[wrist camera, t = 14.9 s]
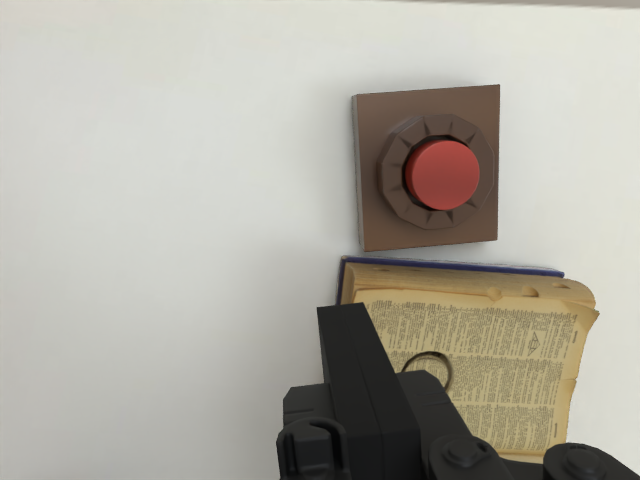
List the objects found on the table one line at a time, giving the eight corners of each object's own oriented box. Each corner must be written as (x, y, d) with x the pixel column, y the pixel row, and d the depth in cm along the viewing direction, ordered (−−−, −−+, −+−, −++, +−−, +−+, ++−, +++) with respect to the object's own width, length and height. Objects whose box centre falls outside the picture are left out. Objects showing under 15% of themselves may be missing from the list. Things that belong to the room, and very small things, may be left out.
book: (339, 251, 34) (350, 277, 29) (562, 268, 36) (615, 297, 30) (305, 545, 40) (309, 616, 34) (499, 548, 42) (534, 617, 36)
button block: (351, 96, 32) (361, 92, 28) (486, 86, 32) (513, 82, 29) (359, 243, 34) (369, 259, 30) (484, 233, 35) (509, 247, 31)
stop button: (403, 142, 29) (411, 143, 28) (469, 137, 30) (480, 138, 28) (405, 207, 30) (413, 212, 29) (468, 202, 31) (479, 207, 29)
